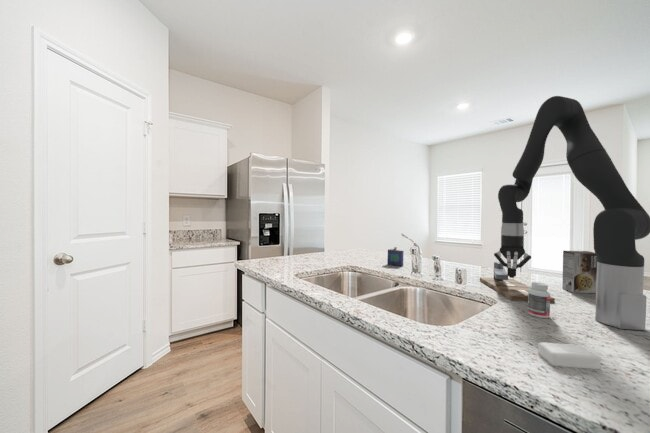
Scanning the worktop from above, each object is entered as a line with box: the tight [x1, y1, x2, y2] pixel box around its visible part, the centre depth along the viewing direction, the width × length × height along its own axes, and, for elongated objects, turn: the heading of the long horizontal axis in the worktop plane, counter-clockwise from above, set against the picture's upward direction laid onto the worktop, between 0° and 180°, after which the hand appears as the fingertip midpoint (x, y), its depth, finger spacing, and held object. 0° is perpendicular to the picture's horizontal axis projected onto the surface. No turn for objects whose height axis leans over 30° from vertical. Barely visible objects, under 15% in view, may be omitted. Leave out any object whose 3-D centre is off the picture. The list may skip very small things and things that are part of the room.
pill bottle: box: [527, 281, 551, 319], centre depth 85 cm, size 5×5×10 cm
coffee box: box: [561, 250, 598, 294], centre depth 112 cm, size 9×6×16 cm
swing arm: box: [492, 261, 509, 280], centre depth 117 cm, size 19×4×7 cm, turn 152°
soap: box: [537, 341, 601, 370], centre depth 59 cm, size 9×6×3 cm, turn 82°
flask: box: [386, 246, 404, 267], centre depth 161 cm, size 9×3×11 cm, turn 61°
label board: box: [479, 277, 556, 304], centre depth 112 cm, size 28×14×2 cm, turn 172°
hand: (511, 277), depth 111 cm, fingers closed
